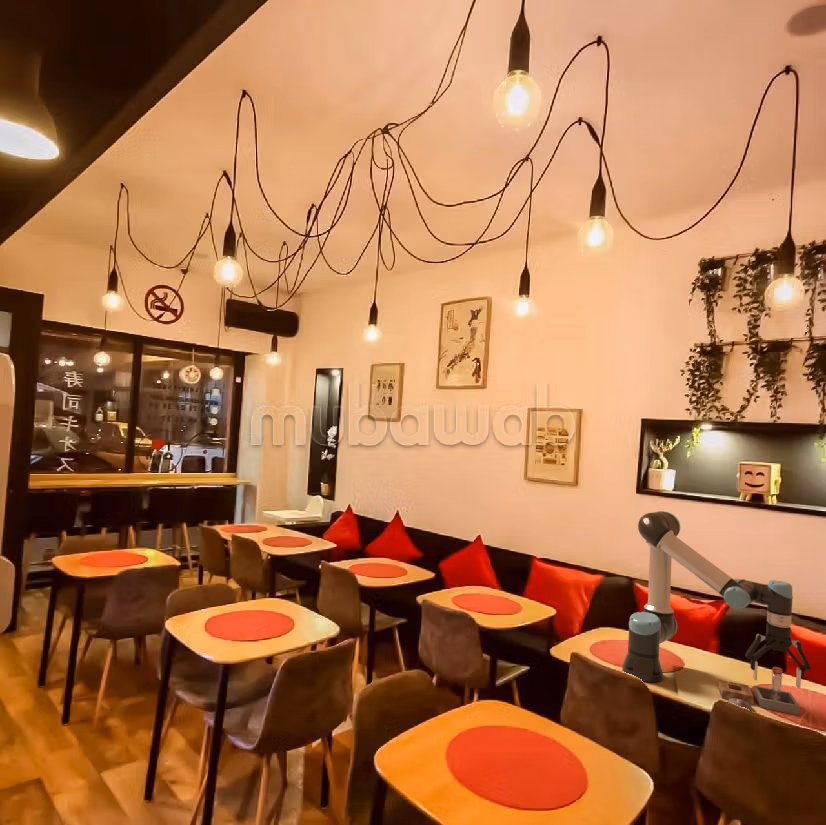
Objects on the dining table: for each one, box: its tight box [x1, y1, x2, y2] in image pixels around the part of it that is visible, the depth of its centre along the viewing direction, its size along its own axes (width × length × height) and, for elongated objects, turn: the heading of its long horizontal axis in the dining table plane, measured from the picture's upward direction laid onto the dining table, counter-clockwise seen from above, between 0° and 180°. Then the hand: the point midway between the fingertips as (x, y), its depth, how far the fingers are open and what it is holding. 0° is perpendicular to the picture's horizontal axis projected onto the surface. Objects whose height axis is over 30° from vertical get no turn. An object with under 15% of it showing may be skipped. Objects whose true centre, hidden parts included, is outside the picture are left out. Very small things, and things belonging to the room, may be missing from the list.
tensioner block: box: [717, 679, 755, 711], centre depth 206 cm, size 10×18×4 cm, turn 159°
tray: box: [752, 685, 801, 716], centre depth 205 cm, size 12×12×4 cm
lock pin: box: [770, 666, 783, 702], centre depth 205 cm, size 3×3×13 cm
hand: (776, 683), depth 206 cm, fingers open, 13 cm apart
